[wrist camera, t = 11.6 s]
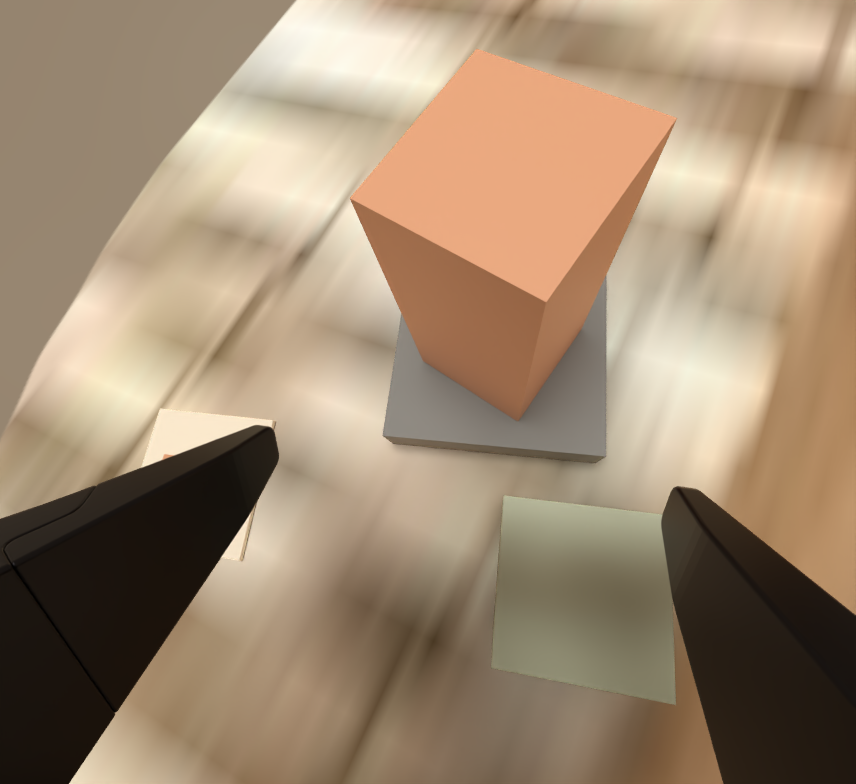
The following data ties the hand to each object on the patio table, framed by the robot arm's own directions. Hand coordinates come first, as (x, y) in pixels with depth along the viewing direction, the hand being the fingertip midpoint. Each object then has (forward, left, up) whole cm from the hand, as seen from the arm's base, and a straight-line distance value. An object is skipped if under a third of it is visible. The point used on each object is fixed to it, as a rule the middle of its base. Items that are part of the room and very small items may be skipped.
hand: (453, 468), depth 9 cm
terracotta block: (+8, 0, -11) cm, 14 cm away
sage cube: (-3, -4, -14) cm, 15 cm away
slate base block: (+8, 0, -14) cm, 16 cm away
